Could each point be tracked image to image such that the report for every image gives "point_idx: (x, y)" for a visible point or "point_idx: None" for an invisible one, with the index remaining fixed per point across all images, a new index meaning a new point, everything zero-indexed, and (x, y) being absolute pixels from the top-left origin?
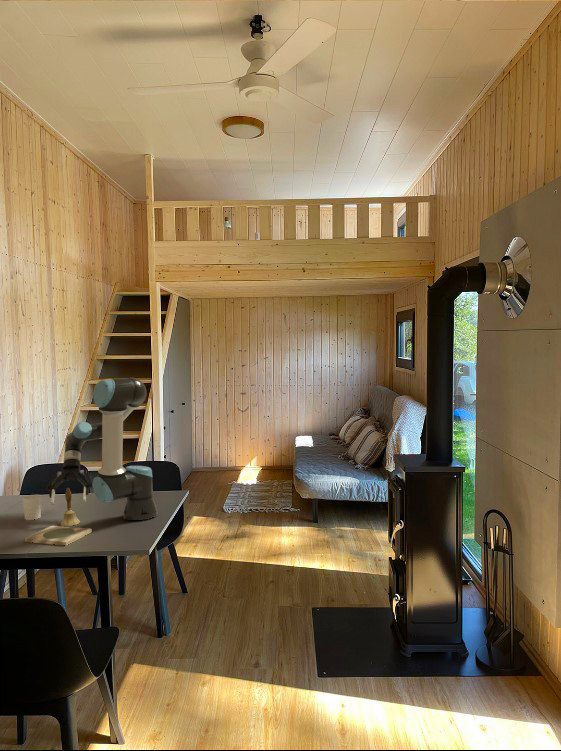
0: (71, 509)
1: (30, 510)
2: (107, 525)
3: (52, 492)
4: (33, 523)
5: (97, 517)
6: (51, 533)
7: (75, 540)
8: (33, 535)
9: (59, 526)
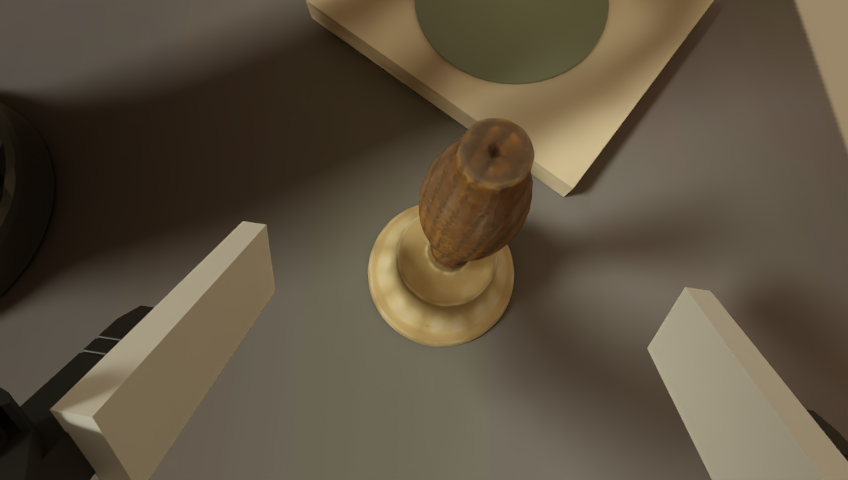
0: (428, 245)
1: None
2: (197, 107)
3: (825, 450)
4: None
5: None
6: (557, 3)
7: None
8: (670, 25)
9: None
